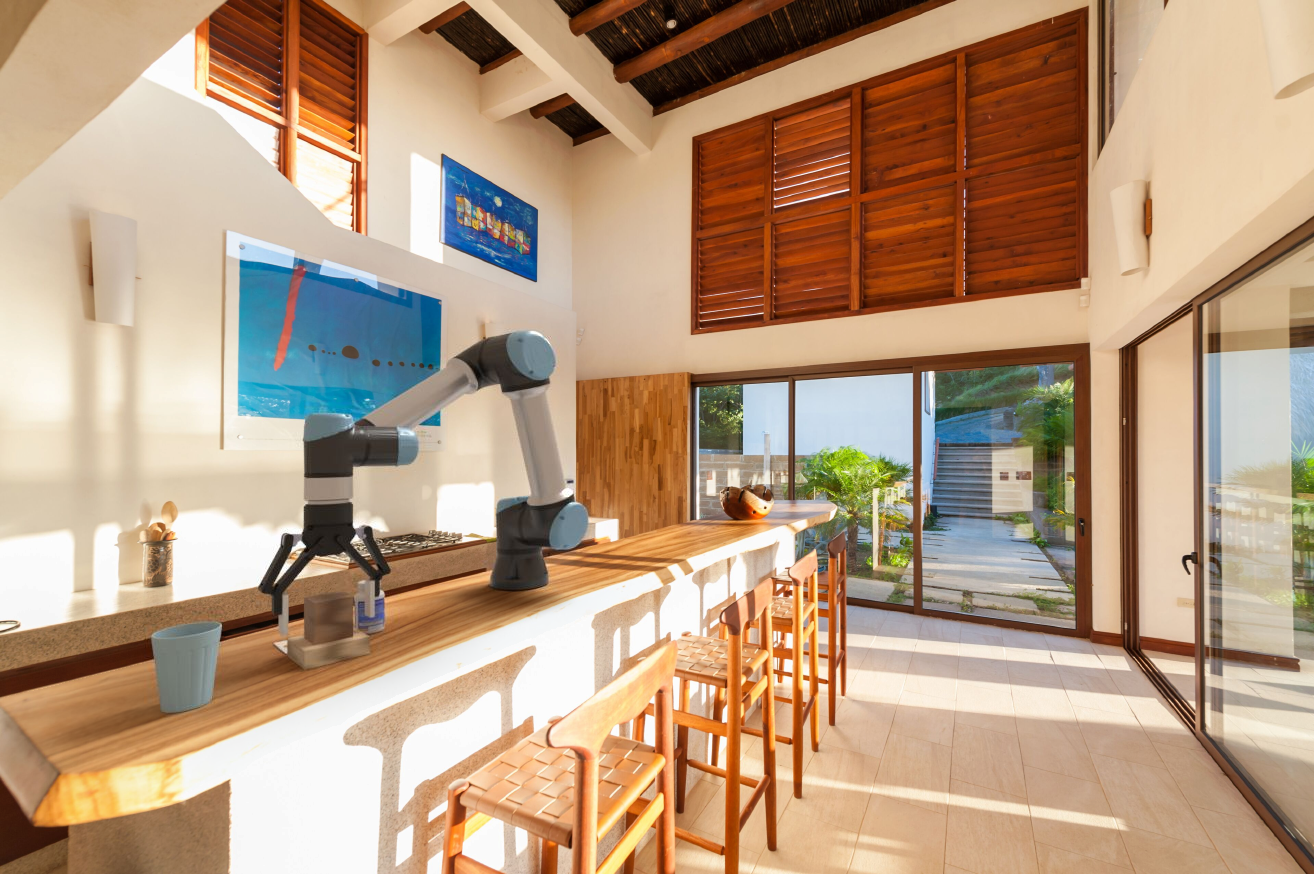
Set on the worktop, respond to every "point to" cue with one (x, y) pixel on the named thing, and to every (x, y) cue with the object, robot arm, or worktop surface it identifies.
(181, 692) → the cup
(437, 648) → the worktop surface
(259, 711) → the worktop surface
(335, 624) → the walnut block
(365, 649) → the oak base slab
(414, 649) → the worktop surface
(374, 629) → the pill bottle
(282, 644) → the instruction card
